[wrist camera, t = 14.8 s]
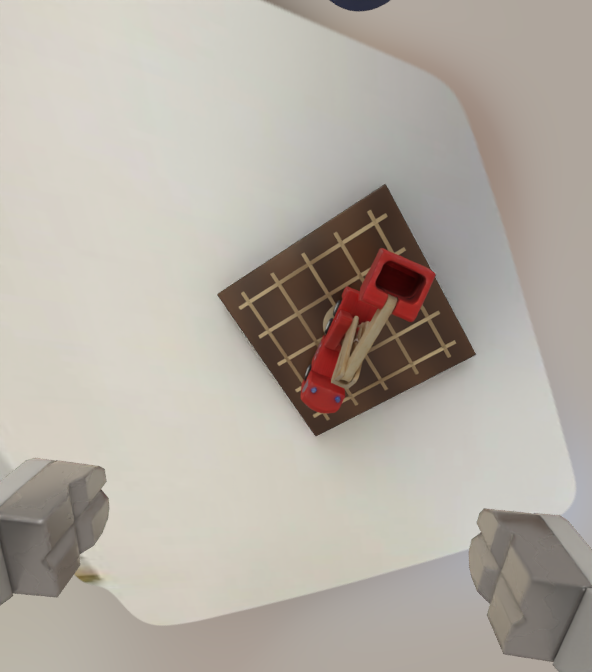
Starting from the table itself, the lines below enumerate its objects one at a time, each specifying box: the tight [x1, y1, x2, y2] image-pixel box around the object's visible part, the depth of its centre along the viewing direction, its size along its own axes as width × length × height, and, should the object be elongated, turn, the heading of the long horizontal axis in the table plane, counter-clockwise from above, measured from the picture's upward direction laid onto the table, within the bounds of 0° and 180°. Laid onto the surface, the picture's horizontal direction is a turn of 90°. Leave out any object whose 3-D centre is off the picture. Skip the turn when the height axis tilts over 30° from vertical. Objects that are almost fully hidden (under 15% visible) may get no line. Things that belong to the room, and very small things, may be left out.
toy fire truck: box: [301, 248, 436, 413], centre depth 26 cm, size 3×14×10 cm, turn 158°
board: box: [217, 184, 476, 436], centre depth 31 cm, size 16×16×2 cm
